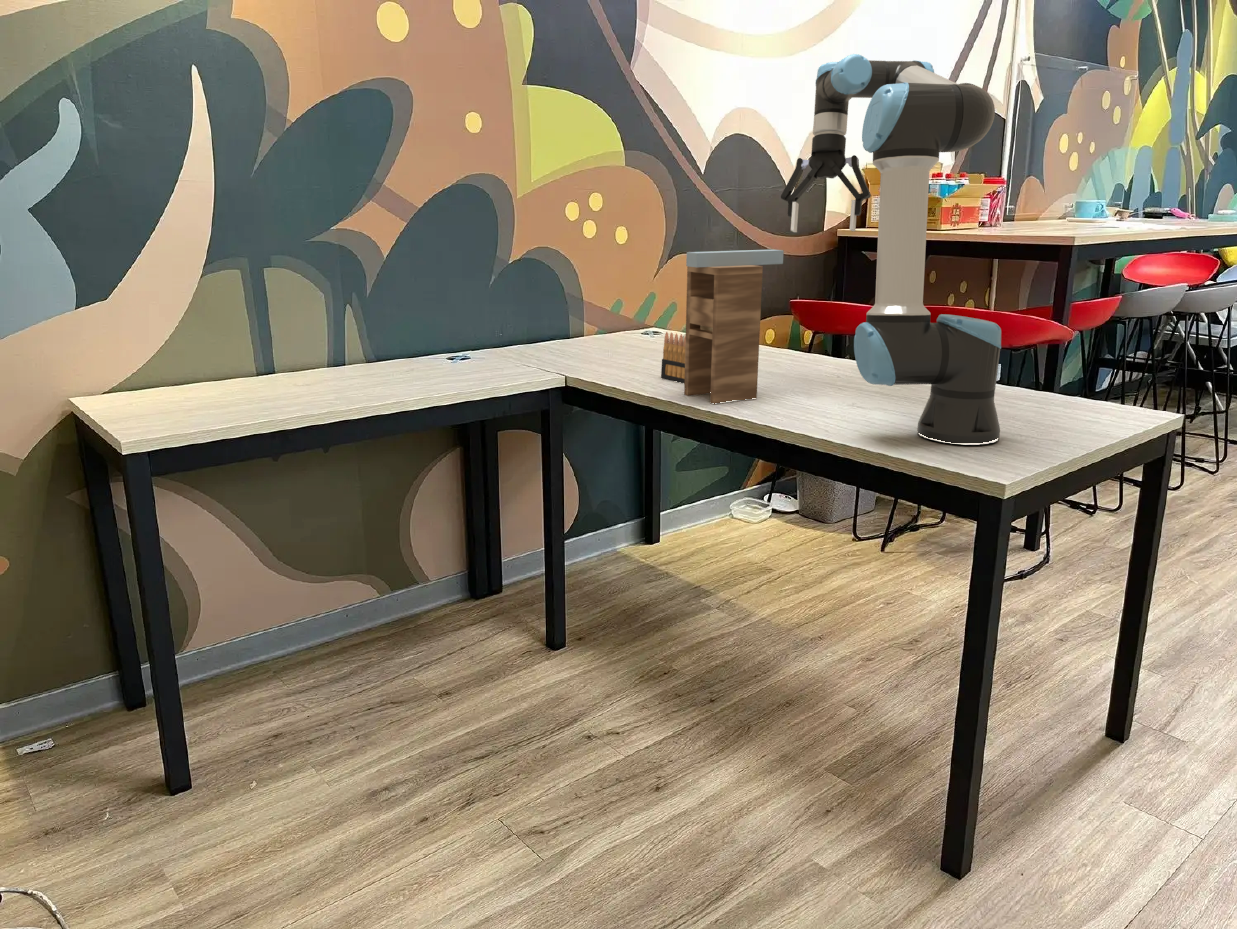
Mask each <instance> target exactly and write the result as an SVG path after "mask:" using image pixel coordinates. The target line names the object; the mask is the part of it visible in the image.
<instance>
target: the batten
mask: <svg viewBox="0 0 1237 929" xmlns="http://www.w3.org/2000/svg"><path fill="white" fill-rule="evenodd" d="M783 264H784V250H783V249H753V250H752V249H751V250H750V249H749V250H748V249H747V250H746V249H745V250H744V249H743V250H718V251H717V250H716V251H714V250H712V251H711V250H710V251H688V252H686V263H685V265H686V267H687V266H689V267H718V266H742V265H755V266H763V265H783Z"/></svg>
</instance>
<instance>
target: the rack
mask: <svg viewBox="0 0 1237 929" xmlns="http://www.w3.org/2000/svg"><path fill="white" fill-rule="evenodd" d="M686 267H687V269H686V271H687V273H686V307H685V308H686V309H685V310H686V311H685V315H686V316H685V334H686V342H685V384H684V385H683V386H684V387H683V388H684V390H683V391H684V392H683V393H684V394H683V395H685V396H687V397H690V396H700V395H705V394H706V393H708V394H710V396H709V397H710V399H709V400H710V401H709V403H710V402H711V403H714V404H713V405H716V404H715V403H720V402H726V401H732V400H745V399H752V398H757V396H758V380H759V379H758V377H759V376H758V375H759V374H758V373H759V356H760V355H759V353H760V337H761V336H760V334H761V312H762V290H763V271H764V270H763V268H764V266H763V265H742V266H718V267H689V266H686ZM710 392H711V393H710ZM757 399H758V398H757ZM745 401H746V400H745ZM711 403H710V404H711Z"/></svg>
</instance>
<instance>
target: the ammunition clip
mask: <svg viewBox="0 0 1237 929" xmlns="http://www.w3.org/2000/svg"><path fill="white" fill-rule="evenodd" d="M684 335H685V334H684ZM685 342H686V335H685V338H684V344H683V334H680V335H679V336H678V333H677V332H675V335H674V334H673V332H670V335H669V333H668V331H666V332H665V335H664V341H663V348H662V349H663V352H662V354H663V355H662V358H661V369H660V370H661V372H660V373H661V374H660V379H661V378H662V380H666V381H671V382H674V381H677V382H676V383H679V382H681V383H680V384H683V383H684V384H685Z"/></svg>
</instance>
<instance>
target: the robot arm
mask: <svg viewBox="0 0 1237 929" xmlns="http://www.w3.org/2000/svg"><path fill="white" fill-rule="evenodd" d="M816 74H817V75H816V79H815V99H814V109H813V110H814V112H813V128H812V135H813V137H812V139H811V140H812V142H811V156H810V158H809V159H803V158H801V157H798V158H797V159H796V165H795V168H794V170H793V172H792V174H791V176H790V178H789V179H788V182H787V184H786V186H785V188H784V189H783V191H782V193H781V195H780V199H781V200H782V201H784V202H787V203H788V204H787V216H788V217H789V218H791V219H790V220H791V221H790V232H792V233H798V221H799V205H800V204H799V203H798V202H797V201H798V200H799V199H800V198H801V197H802V195H803V194H804V193H805V192H806V191H807V190H808V188H809V187H810V186H811V184H812V183H814V182H815V181H816V180H817V179H820V180H824V179H835V178H836V177H837V178H839V179H840V180H841V182H842V183H843V185H844V186H845V187H846V188H847V189H848V191H849V192H850V193H851V195H853V198H854V199H851V204H850V219H849V230H850V231H851V232H856V226H857V216H858V217H859V216H861V214H862V205H863V201H864V200H866V199H867V200H868V199H870V198H871V197H872V194H871V192H870V189H869V187H868V185H867V183H866V180H865V178H864V175H863V174H862V171H861V168H860V161H859V160H860V158H859V157H858V156H857V155H854V154H853V155H852V156H851V157H850V156H849V157H846V155H845V154H846V146H847V145H846V142H847V137H846V134H847V130H848V129H847V128H848V117H849V116H848V115H849V104H850V102H849V101H850V100H851V99H855V98H856V99H857V98H860V99H870V98H871V99H870V102H869V104H868V106H867V108H866V112H865V116H864V119H863V124H862V131H861V140H862V141H861V142H862V148H863V150H865V151H866V152H868V153H869V154H872V165H873V166H874V167H875V168H876V169H877V170H878V172H879V173H880V181H879V182H880V183H879V204H878V206H879V207H878V225H877V226H878V229H877V231H878V232H877V248H876V249H877V250H876V251H877V253H876V271H875V272H876V274H875V275H876V276H875V277H876V279H875V297H874V298H875V301H874V304H873V306H872V307H871V308H870V309H869V310H868V311H867V312H866V318H865V322H861V323H860V324H859V325H858V326H857V327H856V328H855V335H854V338H853V352H854V357H855V362H856V367H857V369H858V371H859V374H860V375H861V377H862V379H863V380H864V381H865V382H867V383H869V384H871V385H876V386H877V385H879V386H880V385H881V386H882V385H884V386H889V387H892V386H895V385H896V386H897V385H898V386H900V385H901V386H902V385H909V386H910V385H931V386H930V393H929V394H930V395H929V397H928V399H927V402H926V404H925V407H924V408H923V411H922V412H921V415H920V417H919V419H918V422H917V430H916V432H917V431H918V433H920V434H922V435H924V436H926V437H928V438H933V439H937V440H941V441H945V442H951V443H983V442H989V441H992V440H995V439H997V438H999V439H1000V435H1001V428H1000V423H999V422H1000V421H999V417H998V413H997V408H996V404H995V394H996V386H997V376H998V370H999V360H1000V354H1001V353H1000V352H1001V350H1002V328H1001V327H1000V326H999V325H998V324H997V323H996V322H993V321H991V320H990V321H989V320H986V319H982V318H981V319H980V318H977V317H976V318H974V317H968V316H964V315H963V316H962V315H955V314H946V313H945V314H942V313H941V314H939V315H938V317H937V318H936V322H931V312H930V311H929V310H928V309H927V307H925V305H924V302H923V301H924V286H925V269H926V268H925V267H926V248H927V247H926V246H927V228H928V226H927V224H928V209H929V208H928V206H929V189H930V171H931V169H932V168H933V167H935V165H937V163H938V162H939V160H940V153H954V152H959V151H960V152H961V151H964V150H966V149H970V148H972V147H973V146H974V145H975V144H977V143H979V142H981V140H983V139H984V138H985V136H986V135H987V133H989V131H990V130H991V127H992V125H993V124H994V123H993V122H994V120H995V115H996V114H995V113H996V108H995V103H994V100H993V98H992V97H991V95H990V93H989V92H988V91H986V89H984V88H982V87H980V86H978V85H976V84H973V83H970V82H969V83H968V82H961V83H957V82H955V81H952V80H950V79H949V78H946V77H944V76H942V75H940V74H937V73H935V69H934V67H933V65H932V64H931V63H930V62H928V61H920V60H909V61H908V60H869V59H868V58H866V57H864V56H863V55H862V54H857V53H856V54H855V53H853V54H850V55H846V56H845V57H844V58H842V59H840V60H839V61H832V62H831V61H830V62H826V63H824V64H821V65H820V66H819V67H818V69H817V73H816ZM847 164H848V166H849V167H850V168H852V172H853V173H854V176H855V178H856V180H857V182H858V185H859V188H860V189H861V192H862V193H860V192H859V191H858V190H857V189H856V187H855V186H854V185H853V184H852V182H851V181H850V180H849V178H848V177H847V176H846V175H845V174H844V171H843V169H844V167H845V166H846V165H847ZM808 166H809V167H810V169H811V170H809V172H808V173H807V175H806V177H805V178H804V179H803V180H802V182H801V183H800V184H799V185H798V186H797V184H798V182H799V180H800V178H801V177H802V174H803V172H804V170H806V168H807V167H808ZM796 186H797V187H796ZM795 188H796V189H795ZM794 189H795V190H794Z"/></svg>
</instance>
